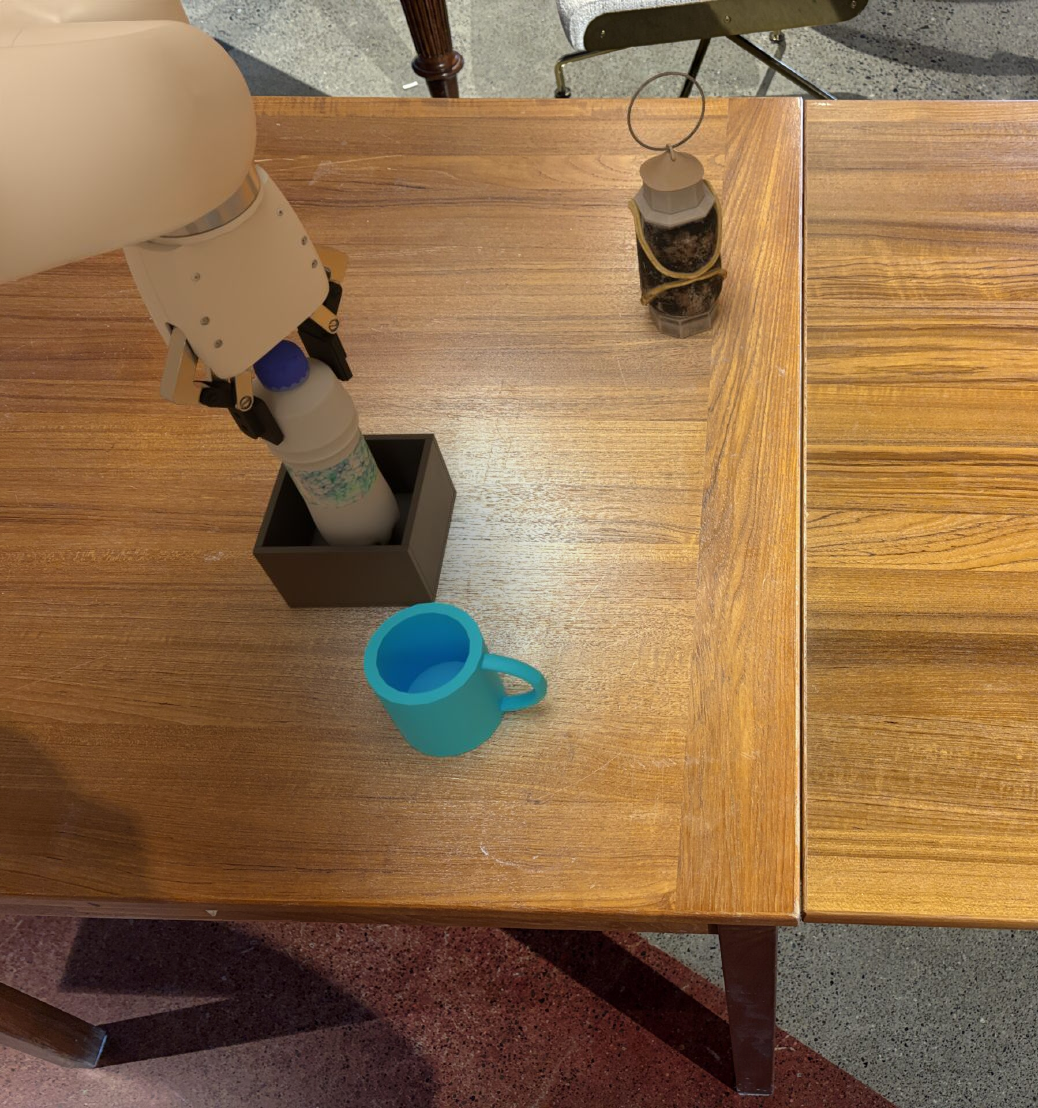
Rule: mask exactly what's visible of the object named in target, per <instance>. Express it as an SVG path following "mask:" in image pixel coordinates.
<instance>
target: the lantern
mask: <svg viewBox="0 0 1038 1108" xmlns="http://www.w3.org/2000/svg"><path fill="white" fill-rule="evenodd" d="M667 76H680V77H683V78H686V79H688V80H689V81H690V82H692V83H693V84H694V85H695V87H696V88H697V89H698V92H699V93H700V96H701V102H702V104H701V112H700V117H699V119H698V121H697V124H696V125H695V127H694V128H693V130H692V131H691V132H690V133H689V134H688V135H687V136H686V137H684V138H683V139H682V140H681V141H679V142H677V143H675V144H671V143H670V142H667V143H666V144H665V146H664V147H654V146H649V145H648V144H645V143H644V142H642V141H641V140H640V139H639V138H638V137H637V136H636V134H635V132H634V130H633V128H632V124H631V113H632V108H633V105H634V102H635V101H636V99H637V97H638V95H639V94H640V93H641V92H642V91H643V90H644V88H645V87H646V86H648V85H649V84H651V83H652V82H653V81H655V80H657V79H660V78H662V77H667ZM705 97H706V96H705V93H704V91H703V88H702V87H701V85H700V83H699V82H698V81H697V80H696V79H695V78H694V77H693V76H691V75H690V74H687V73H684V72H680V71H672V70H671V71H664V72H661V73H658V74H655V75H654V76H652V77H650V78H648V79H647V80H646V81H644V82H643V83H642V84H641V85H640V86H639V87H638V88H637V90H636V91H635V92H634V94H633V96H632V97H631V100H630V103H629V104H628V109H627V114H626V117H627V118H626V119H627V121H626V122H627V127H628V131H629V133H630V135H631V138H633V140H634V141H635V142H636V143H637V144H638V145H640V146H641V147H642V148H645V149H647V150H649V151H655V152H662V153H660V154H657V155H655V156H652V157H650V158H647V159H646V160H645V161H643V162H642V164H641V165H640V166H639V169H638V172H639V176H640V178H641V180H642V185H641V186H640V188H639V189H638V190H637V192H636V193H635V195H634V196H633V198H631V200H628V203H627V209H628V210H629V211H630V213H631V215H632V217H633V222H634V231H635V233H634V234H635V243H636V254H637V264H638V274H639V276H638V277H639V285H640V287H639V288H640V292H641V295H640V298H639V301H640V304H641V305H642V306H645V307H646V306H648V312H649V315H650V317H651V319H652V321H653V322H654V324H655V327H656V328H657V329H658V332H659V333H661V334H665V335H668V336H672V337H675V338H679V339H683V338H686V337H690V336H694V335H696V334H700V333H703V332H706V331H709V330H712V327H713V326H714V324H715V322H716V320H717V318H718V317H719V315H720V314H719V313H720V312H719V302H718V298H719V297H720V295H721V293H722V289H723V284H724V283H723V282H724V281H725V280H726V279H727V277H728V270H727V269H725V268H723V267H722V266H723V265H722V256H721V254H722V253H721V249H722V241H723V211H722V206H721V202H720V200H719V197H718V195H717V193H716V191H715V189H714V187H713V185H712V183H711V182H710V181H709V180H708V179H706V178H703V177H704V175H705V168H704V165H703V163H702V162H701V160H699V159H698V158H697V157H696V156H695V155H694V154H691V153H689V152H685V151H676V150H675V148H678V147H680V146H682V145H684V144H685V143H686V142H687V141H689V140H690V139H691V138H692V137H693V136H694V135H695V133H696V132H697V131H698V129H699V128H700V126H701V124H702V122H703V119H704V116H705V112H706V98H705Z"/></svg>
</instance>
